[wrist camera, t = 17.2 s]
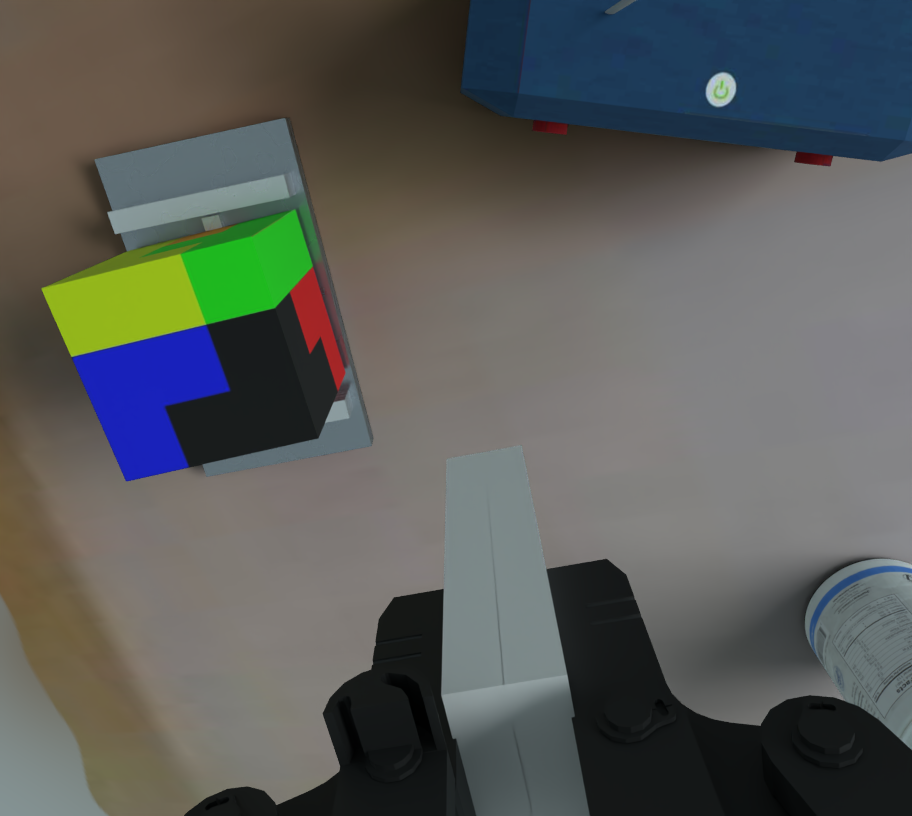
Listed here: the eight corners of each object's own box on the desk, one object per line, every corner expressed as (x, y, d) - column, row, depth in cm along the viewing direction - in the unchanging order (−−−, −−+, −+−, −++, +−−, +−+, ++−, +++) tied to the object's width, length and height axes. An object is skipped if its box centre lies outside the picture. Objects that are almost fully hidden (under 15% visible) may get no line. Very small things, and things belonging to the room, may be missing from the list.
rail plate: (103, 158, 44) (79, 161, 41) (289, 117, 43) (278, 118, 40) (212, 468, 51) (198, 489, 48) (373, 438, 50) (368, 457, 47)
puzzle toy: (190, 408, 48) (126, 481, 38) (128, 250, 44) (41, 288, 35) (345, 372, 47) (318, 438, 37) (295, 209, 43) (251, 236, 34)
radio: (457, 120, 43) (459, 127, 25) (476, -59, 40) (494, -206, 21) (819, 163, 44) (1087, 201, 25) (865, -8, 41) (1210, -108, 22)
